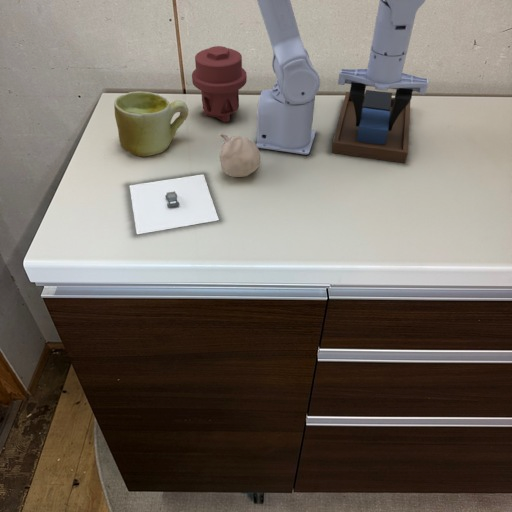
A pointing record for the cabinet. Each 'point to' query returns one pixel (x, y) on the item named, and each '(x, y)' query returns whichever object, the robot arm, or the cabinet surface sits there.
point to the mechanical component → (219, 80)
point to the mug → (147, 122)
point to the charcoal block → (377, 100)
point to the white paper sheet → (172, 204)
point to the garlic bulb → (239, 156)
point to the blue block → (373, 126)
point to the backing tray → (390, 151)
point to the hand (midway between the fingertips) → (373, 125)
